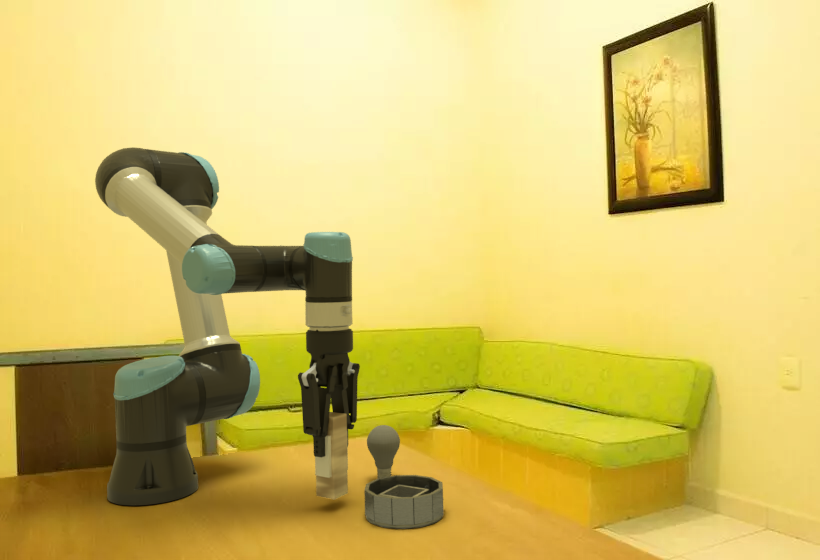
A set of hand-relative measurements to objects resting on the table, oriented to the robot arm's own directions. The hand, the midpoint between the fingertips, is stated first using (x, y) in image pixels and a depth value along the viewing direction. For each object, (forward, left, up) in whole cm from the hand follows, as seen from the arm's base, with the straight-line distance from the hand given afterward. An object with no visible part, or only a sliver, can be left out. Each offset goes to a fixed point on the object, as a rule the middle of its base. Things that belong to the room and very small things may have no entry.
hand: (331, 472), depth 116 cm
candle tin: (+13, +2, -6) cm, 14 cm away
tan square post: (0, 0, -4) cm, 4 cm away
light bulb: (0, +16, -6) cm, 17 cm away
